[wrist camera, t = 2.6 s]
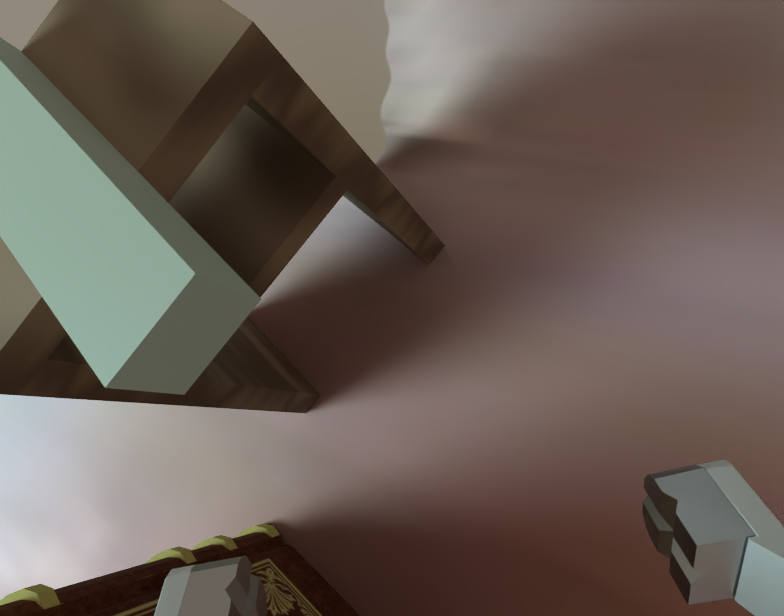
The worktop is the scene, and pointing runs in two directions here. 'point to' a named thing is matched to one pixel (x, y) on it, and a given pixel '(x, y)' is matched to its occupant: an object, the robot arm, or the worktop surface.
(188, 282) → the pale green bar
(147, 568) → the decorative book
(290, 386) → the walnut shelf
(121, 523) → the worktop surface
